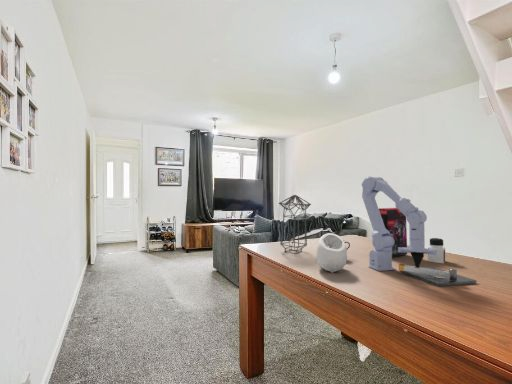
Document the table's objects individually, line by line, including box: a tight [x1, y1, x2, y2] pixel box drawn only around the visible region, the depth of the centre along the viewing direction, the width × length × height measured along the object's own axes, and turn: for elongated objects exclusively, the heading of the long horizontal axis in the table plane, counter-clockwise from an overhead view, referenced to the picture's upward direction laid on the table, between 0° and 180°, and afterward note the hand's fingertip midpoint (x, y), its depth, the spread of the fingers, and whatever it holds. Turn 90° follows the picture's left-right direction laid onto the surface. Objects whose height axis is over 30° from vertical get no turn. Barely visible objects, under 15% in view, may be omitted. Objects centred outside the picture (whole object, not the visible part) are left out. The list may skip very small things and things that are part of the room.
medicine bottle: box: [427, 237, 446, 264], centre depth 149 cm, size 7×7×12 cm
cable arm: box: [398, 263, 458, 281], centre depth 119 cm, size 21×3×4 cm, turn 49°
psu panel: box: [398, 266, 477, 288], centre depth 121 cm, size 18×21×2 cm
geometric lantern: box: [278, 194, 312, 255], centre depth 173 cm, size 16×16×35 cm
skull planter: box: [315, 232, 348, 274], centre depth 135 cm, size 14×20×19 cm
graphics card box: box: [378, 207, 408, 258], centre depth 163 cm, size 17×7×27 cm, turn 119°
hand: (417, 270), depth 123 cm, fingers closed
